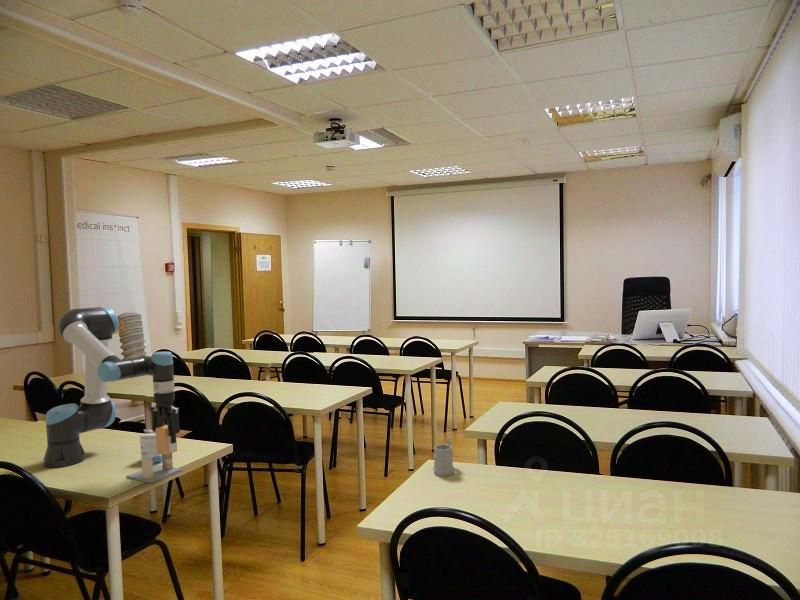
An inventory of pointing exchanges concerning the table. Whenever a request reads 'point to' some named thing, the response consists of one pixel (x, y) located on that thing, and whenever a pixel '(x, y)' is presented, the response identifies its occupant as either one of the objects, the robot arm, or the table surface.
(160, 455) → the ink box
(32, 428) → the table surface
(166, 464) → the beech post
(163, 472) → the post board
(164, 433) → the peach carton
